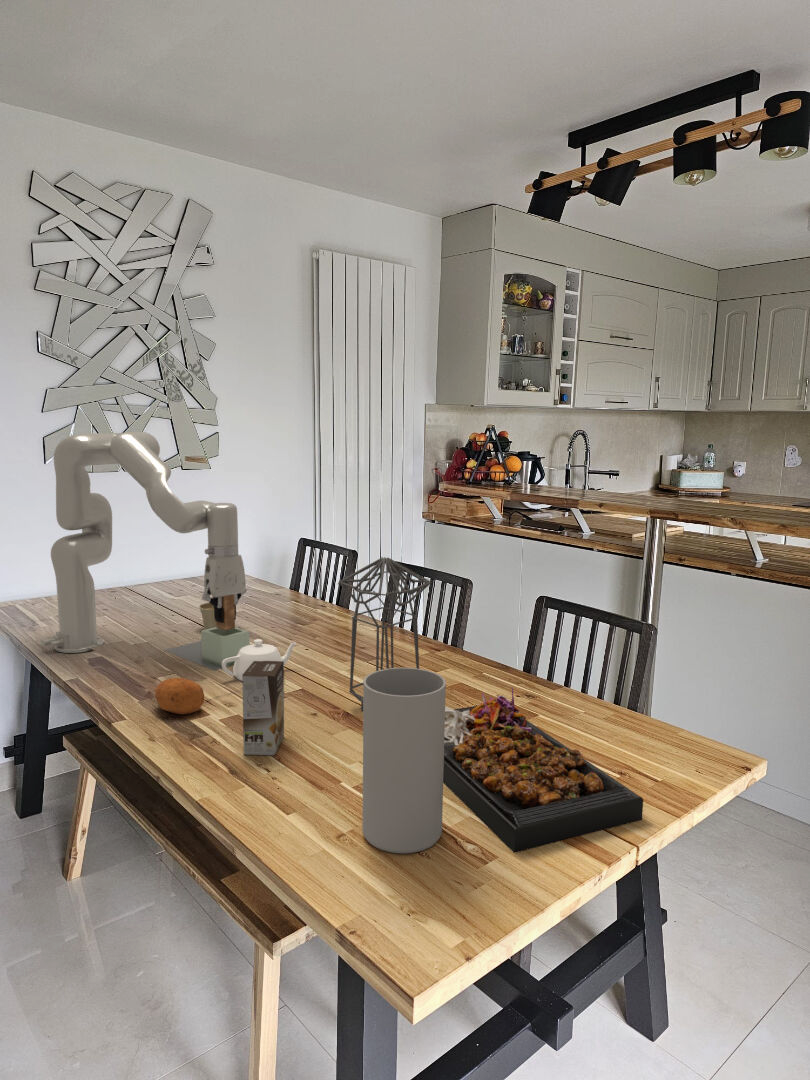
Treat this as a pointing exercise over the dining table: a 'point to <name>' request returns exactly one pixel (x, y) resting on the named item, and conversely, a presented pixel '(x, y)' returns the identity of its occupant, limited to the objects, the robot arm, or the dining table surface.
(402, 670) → the cylinder vase
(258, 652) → the teapot
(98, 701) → the dining table surface
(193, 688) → the potato
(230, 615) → the brown wooden block
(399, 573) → the geometric lantern
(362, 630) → the dining table surface
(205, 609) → the flower pot
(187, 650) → the slate board
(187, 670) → the dining table surface
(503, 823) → the food platter
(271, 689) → the coffee box
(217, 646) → the square sage planter
